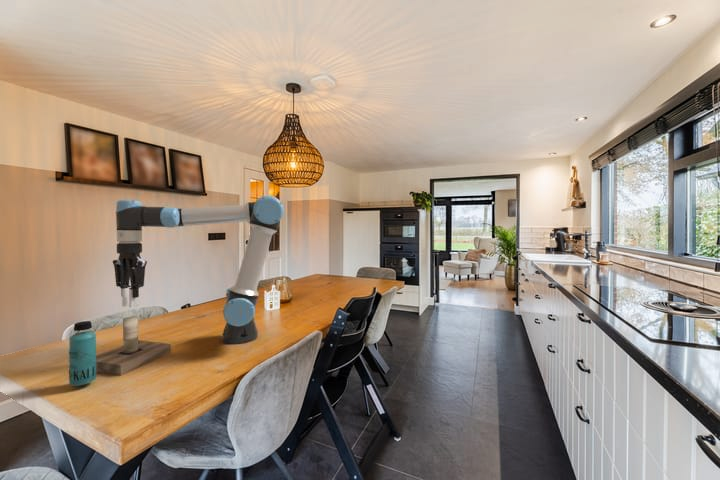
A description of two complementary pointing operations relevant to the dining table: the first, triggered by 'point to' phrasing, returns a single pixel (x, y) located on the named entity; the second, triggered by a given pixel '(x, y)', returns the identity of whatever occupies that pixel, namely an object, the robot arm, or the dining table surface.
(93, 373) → the beverage bottle
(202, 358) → the dining table surface
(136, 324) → the peg
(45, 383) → the dining table surface
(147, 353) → the board
